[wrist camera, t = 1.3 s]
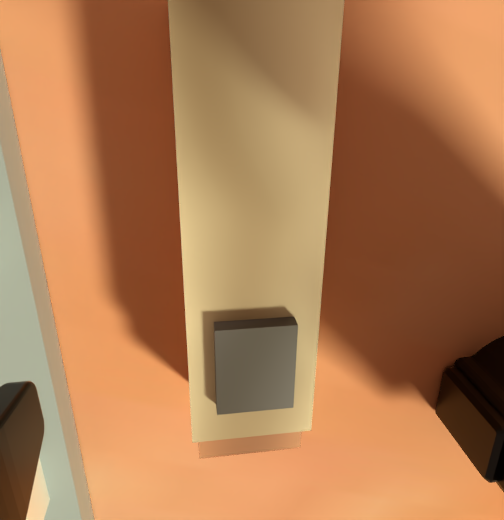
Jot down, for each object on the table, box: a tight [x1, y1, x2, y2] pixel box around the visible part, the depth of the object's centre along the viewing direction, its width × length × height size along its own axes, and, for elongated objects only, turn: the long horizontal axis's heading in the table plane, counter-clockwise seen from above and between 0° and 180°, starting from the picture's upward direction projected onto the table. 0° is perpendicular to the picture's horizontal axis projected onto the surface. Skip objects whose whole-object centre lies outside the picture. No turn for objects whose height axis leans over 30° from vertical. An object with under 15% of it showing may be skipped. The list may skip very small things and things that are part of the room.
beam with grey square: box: [168, 0, 344, 459], centre depth 15 cm, size 4×14×5 cm, turn 179°
